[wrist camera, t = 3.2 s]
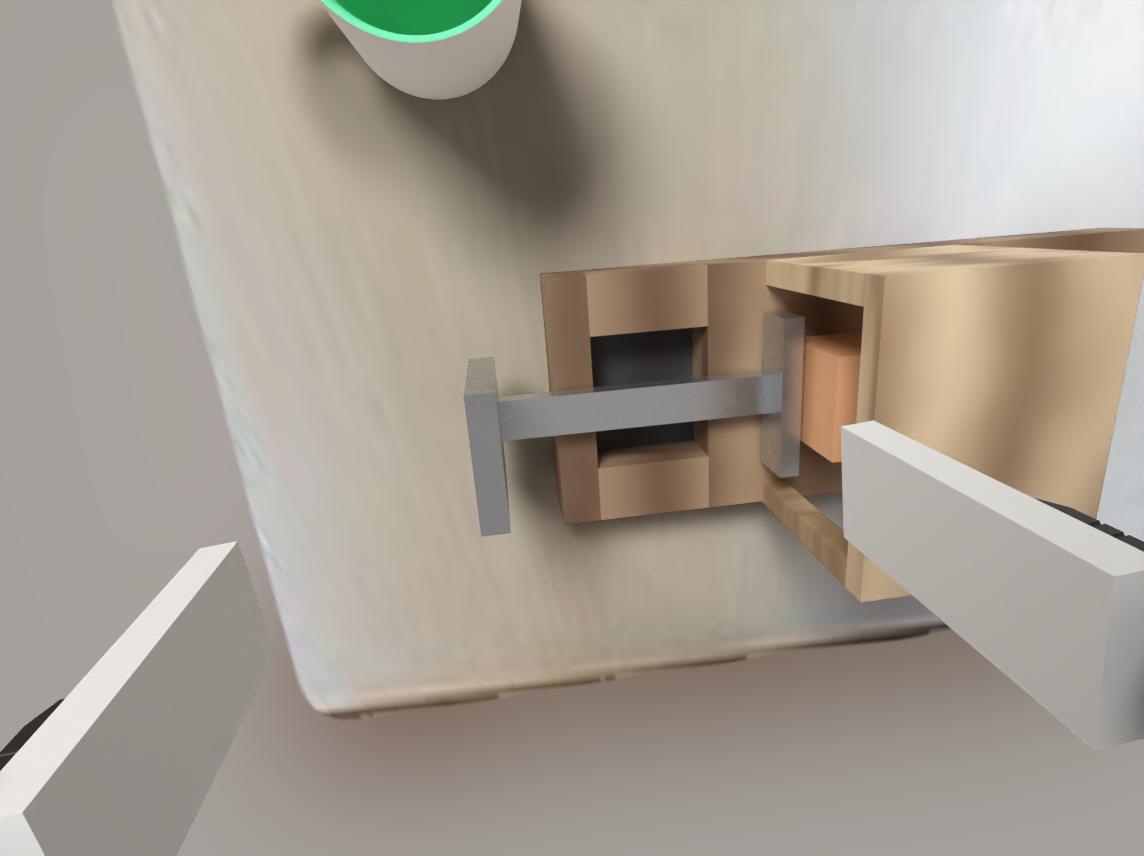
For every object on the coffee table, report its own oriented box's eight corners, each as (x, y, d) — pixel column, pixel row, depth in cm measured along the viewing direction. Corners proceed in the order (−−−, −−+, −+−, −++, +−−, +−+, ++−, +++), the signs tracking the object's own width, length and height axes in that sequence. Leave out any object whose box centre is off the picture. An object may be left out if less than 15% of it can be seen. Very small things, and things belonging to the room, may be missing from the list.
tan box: (761, 501, 36) (860, 602, 27) (766, 260, 32) (885, 276, 23) (930, 481, 37) (1086, 571, 28) (955, 244, 33) (1147, 253, 24)
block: (785, 430, 35) (832, 462, 30) (788, 338, 34) (838, 357, 29) (874, 421, 36) (933, 451, 31) (881, 329, 34) (944, 346, 29)
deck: (558, 501, 38) (564, 524, 35) (540, 273, 34) (544, 278, 31) (1064, 444, 41) (1107, 460, 38) (1101, 228, 37) (1152, 228, 34)
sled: (484, 492, 34) (484, 558, 27) (466, 338, 31) (460, 370, 25) (778, 459, 35) (845, 514, 29) (783, 310, 33) (857, 332, 26)
